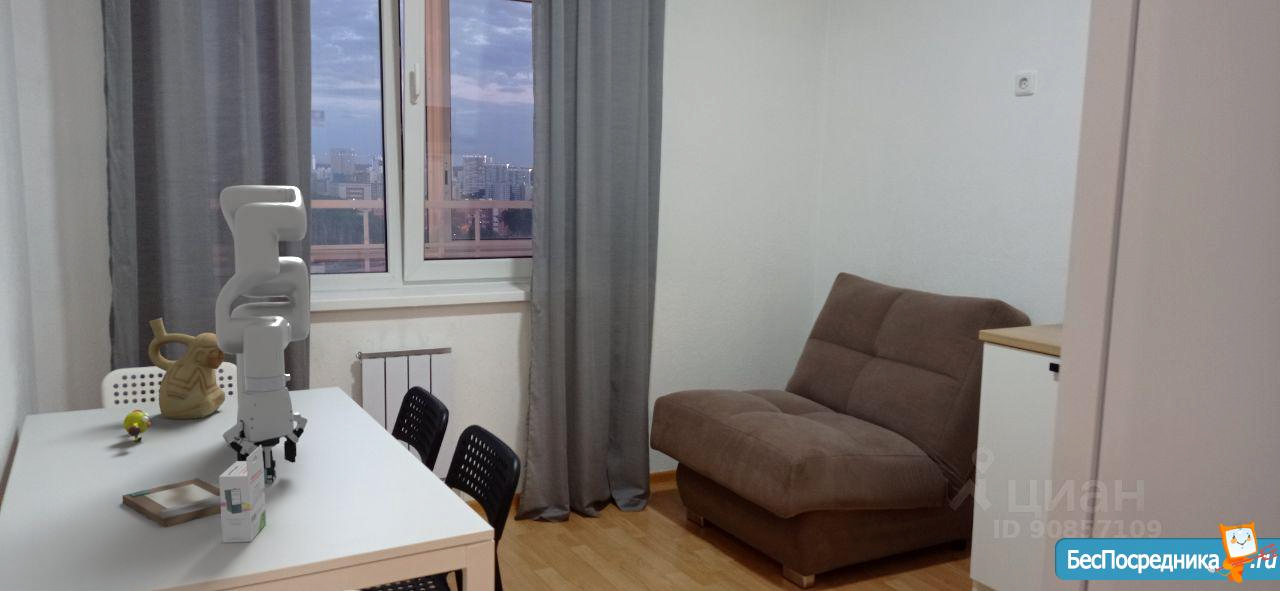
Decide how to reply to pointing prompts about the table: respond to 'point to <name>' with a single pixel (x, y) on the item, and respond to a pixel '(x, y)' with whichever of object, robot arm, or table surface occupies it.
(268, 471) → the push button
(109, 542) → the table surface
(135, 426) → the toy figure
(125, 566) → the table surface
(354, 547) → the table surface
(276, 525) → the table surface
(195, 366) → the ceramic vessel
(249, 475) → the ink box
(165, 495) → the brown flat wooden tray
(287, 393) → the robot arm
